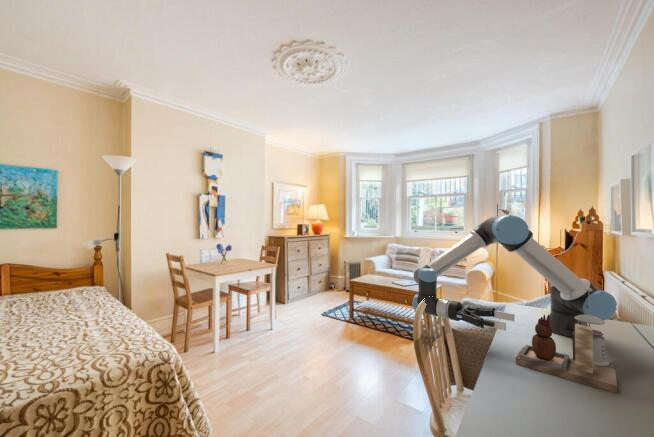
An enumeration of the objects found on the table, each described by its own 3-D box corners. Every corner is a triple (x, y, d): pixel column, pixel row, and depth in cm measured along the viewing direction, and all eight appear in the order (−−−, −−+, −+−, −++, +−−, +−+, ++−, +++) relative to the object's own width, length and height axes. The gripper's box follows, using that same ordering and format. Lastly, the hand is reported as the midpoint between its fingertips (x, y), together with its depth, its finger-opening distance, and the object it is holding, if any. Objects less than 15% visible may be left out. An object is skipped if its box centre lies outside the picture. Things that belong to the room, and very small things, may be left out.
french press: (579, 362, 98) (578, 289, 99) (564, 349, 109) (563, 283, 110) (616, 367, 94) (614, 291, 95) (597, 353, 105) (596, 285, 106)
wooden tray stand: (515, 363, 96) (515, 318, 97) (523, 352, 106) (522, 311, 106) (617, 393, 80) (616, 338, 80) (615, 376, 89) (614, 327, 90)
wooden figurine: (559, 363, 92) (559, 316, 93) (539, 361, 93) (539, 315, 94) (547, 354, 99) (547, 310, 99) (529, 352, 100) (528, 309, 101)
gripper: (460, 312, 127) (517, 324, 112) (437, 326, 109) (501, 342, 94) (460, 295, 127) (517, 305, 112) (437, 306, 109) (501, 319, 94)
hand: (510, 321), depth 103 cm, fingers open, 13 cm apart
